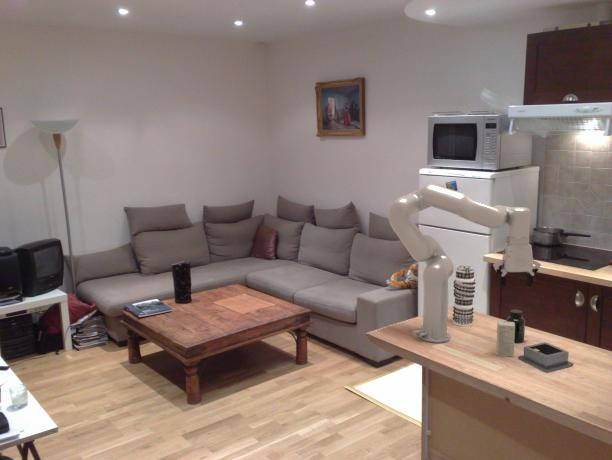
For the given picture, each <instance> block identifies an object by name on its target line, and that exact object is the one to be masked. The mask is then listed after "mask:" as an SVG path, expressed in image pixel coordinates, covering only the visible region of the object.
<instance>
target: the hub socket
mask: <svg viewBox="0 0 612 460" xmlns="http://www.w3.org/2000/svg"><path fill="white" fill-rule="evenodd" d="M569 355H570V354H569V351H567V350H565V349H562V348H561V347H558V346H555V345H553V344H550V343H548V342H546V341H545V342H543V341H542V342H540V343H535V344H532V345H531V344H529V345H526V346H523V355H519V356H517V360H519V361H522V362H524V363H525V364H528V365H529V366H532V367H533V368H536V369H538V370H540V371H542V372H543V373H546V374H547V373H550V372H555V371H559V370H563V369H566V368H567V369H568V368H571V367H573V366H574V363H573V362H572V361H569Z"/></svg>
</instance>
